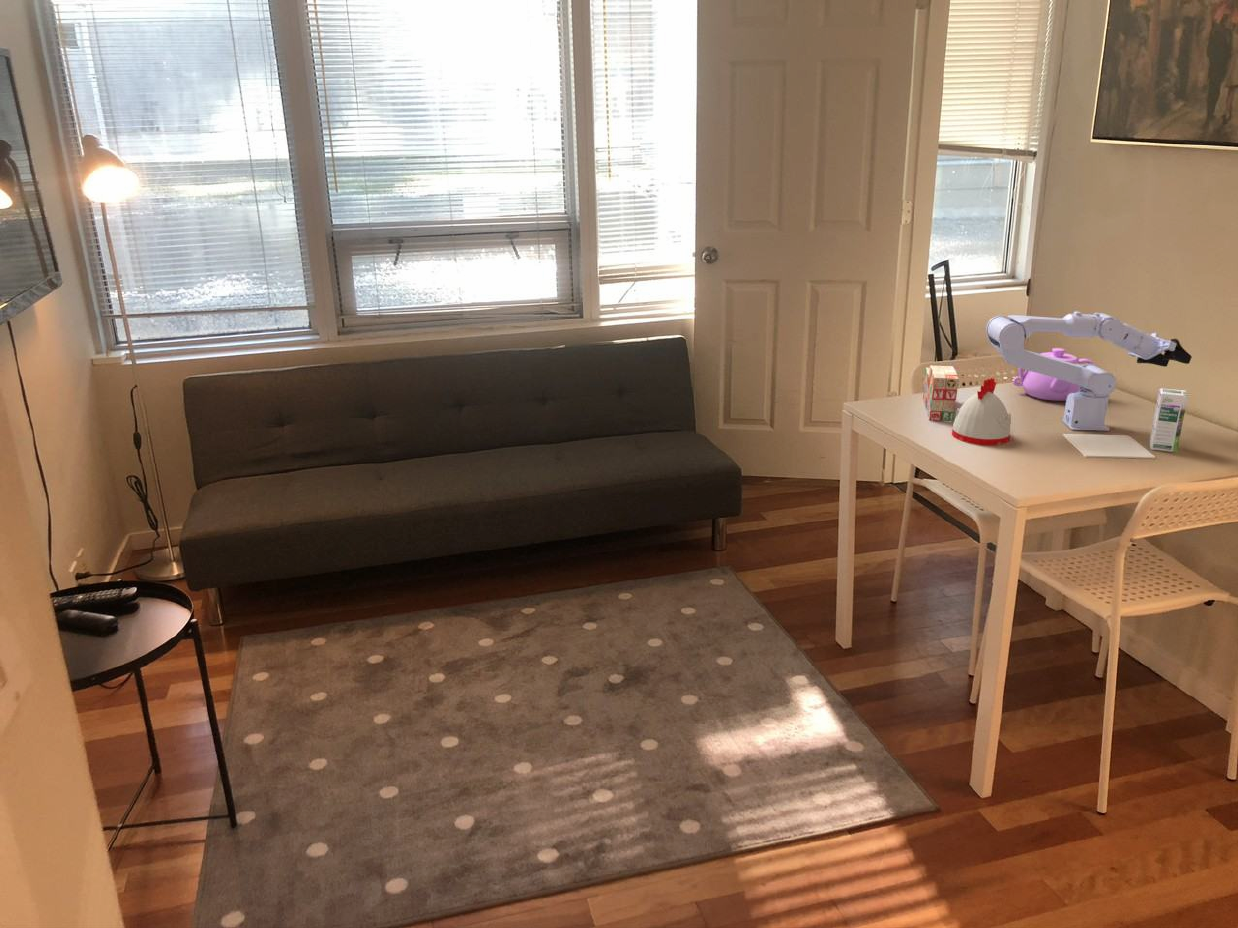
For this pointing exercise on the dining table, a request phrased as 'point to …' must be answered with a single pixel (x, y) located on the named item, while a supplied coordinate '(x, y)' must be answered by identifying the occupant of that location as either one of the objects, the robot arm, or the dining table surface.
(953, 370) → the stack of blocks
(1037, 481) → the dining table surface
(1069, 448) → the dining table surface
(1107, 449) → the mat
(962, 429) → the white chicken dome
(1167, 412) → the syrup box
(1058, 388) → the teapot
